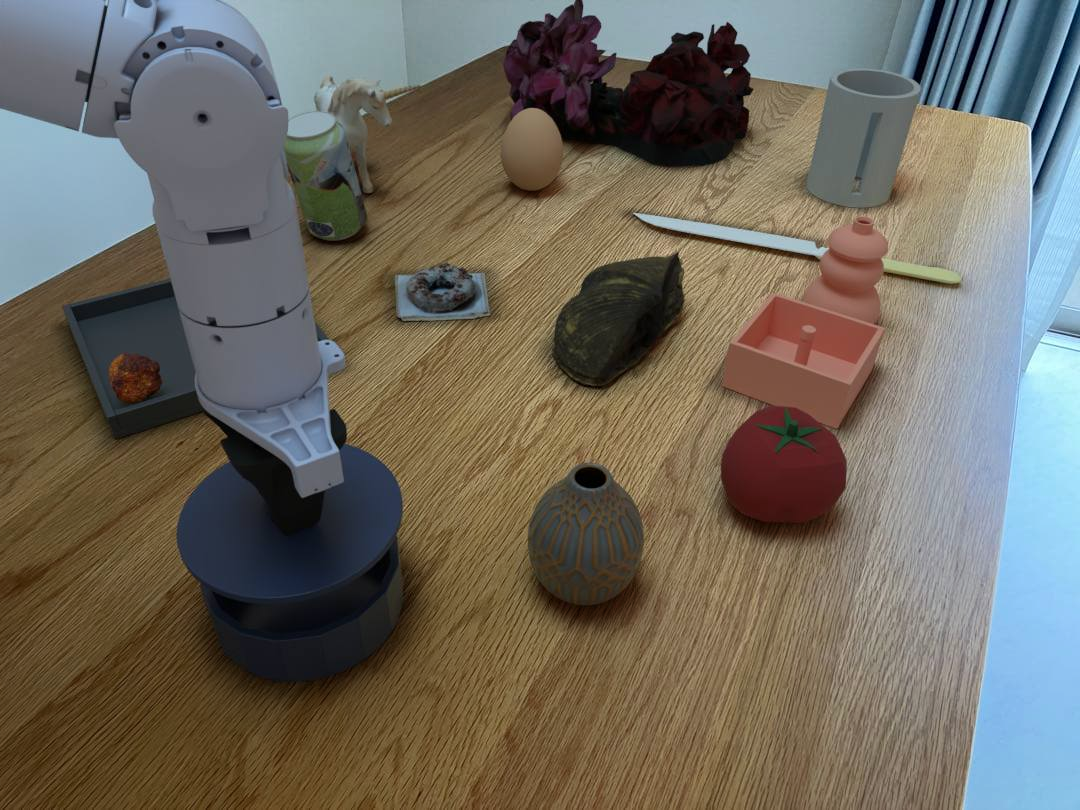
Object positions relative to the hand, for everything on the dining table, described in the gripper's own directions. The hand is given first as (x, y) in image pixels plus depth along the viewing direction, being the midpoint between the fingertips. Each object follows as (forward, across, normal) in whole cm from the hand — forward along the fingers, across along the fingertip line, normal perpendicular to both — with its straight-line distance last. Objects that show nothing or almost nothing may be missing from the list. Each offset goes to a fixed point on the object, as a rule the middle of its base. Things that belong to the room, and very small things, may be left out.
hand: (290, 507), depth 48 cm
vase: (+8, -7, -15) cm, 19 cm away
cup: (+8, +24, -73) cm, 77 cm away
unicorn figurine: (+8, +52, -28) cm, 60 cm away
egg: (+8, +42, -42) cm, 60 cm away
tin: (+8, 0, 0) cm, 8 cm away
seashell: (+8, +14, -33) cm, 37 cm away
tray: (+8, +30, -2) cm, 31 cm away
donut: (+8, +27, -23) cm, 36 cm away
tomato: (+8, -8, -30) cm, 32 cm away
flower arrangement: (+8, +50, -60) cm, 78 cm away
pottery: (+8, +3, -46) cm, 47 cm away
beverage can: (+8, +43, -19) cm, 48 cm away
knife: (+8, +18, -57) cm, 60 cm away
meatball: (+8, +24, +4) cm, 26 cm away
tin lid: (+1, 0, 0) cm, 1 cm away
